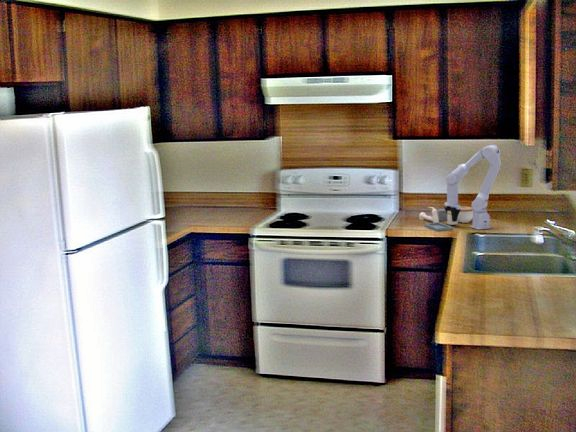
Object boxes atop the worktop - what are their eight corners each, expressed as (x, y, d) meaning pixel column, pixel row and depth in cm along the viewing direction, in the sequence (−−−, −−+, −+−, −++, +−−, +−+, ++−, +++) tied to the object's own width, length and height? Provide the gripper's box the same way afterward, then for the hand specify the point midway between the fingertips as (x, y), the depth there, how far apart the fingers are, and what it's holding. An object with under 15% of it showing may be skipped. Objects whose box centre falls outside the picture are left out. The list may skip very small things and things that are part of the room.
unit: (452, 220, 421) (452, 209, 419) (438, 221, 418) (438, 211, 417) (447, 218, 426) (447, 208, 425) (433, 220, 424) (433, 209, 423)
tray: (452, 229, 395) (452, 227, 394) (437, 231, 392) (437, 228, 392) (439, 225, 409) (439, 222, 409) (424, 226, 406) (424, 223, 406)
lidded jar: (450, 221, 419) (450, 204, 417) (466, 219, 423) (466, 202, 421) (460, 224, 409) (461, 207, 407) (477, 222, 413) (477, 205, 411)
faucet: (425, 227, 429) (422, 210, 431) (440, 221, 413) (437, 204, 414) (419, 227, 428) (416, 210, 429) (434, 222, 412) (431, 204, 413)
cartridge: (457, 224, 405) (457, 211, 403) (450, 224, 403) (450, 211, 402) (453, 222, 408) (454, 210, 407) (447, 223, 407) (447, 210, 406)
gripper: (439, 194, 409) (439, 219, 411) (452, 198, 395) (452, 223, 398) (450, 193, 411) (450, 218, 413) (464, 197, 397) (464, 222, 400)
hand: (452, 220), depth 406 cm, fingers closed on cartridge, 4 cm apart
